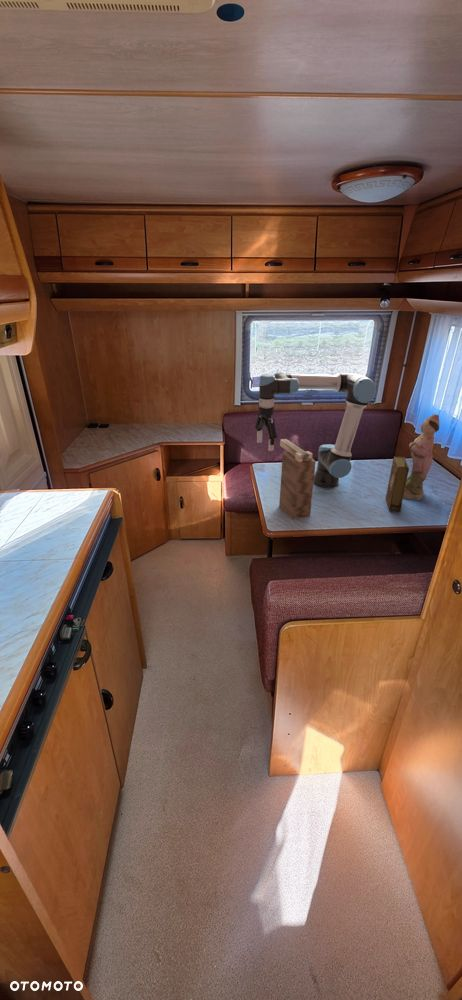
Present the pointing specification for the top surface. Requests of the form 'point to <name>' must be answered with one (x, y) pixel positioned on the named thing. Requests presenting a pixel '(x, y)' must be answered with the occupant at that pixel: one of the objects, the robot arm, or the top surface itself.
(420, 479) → the statue
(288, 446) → the birch bar
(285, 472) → the walnut stand
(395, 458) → the book
